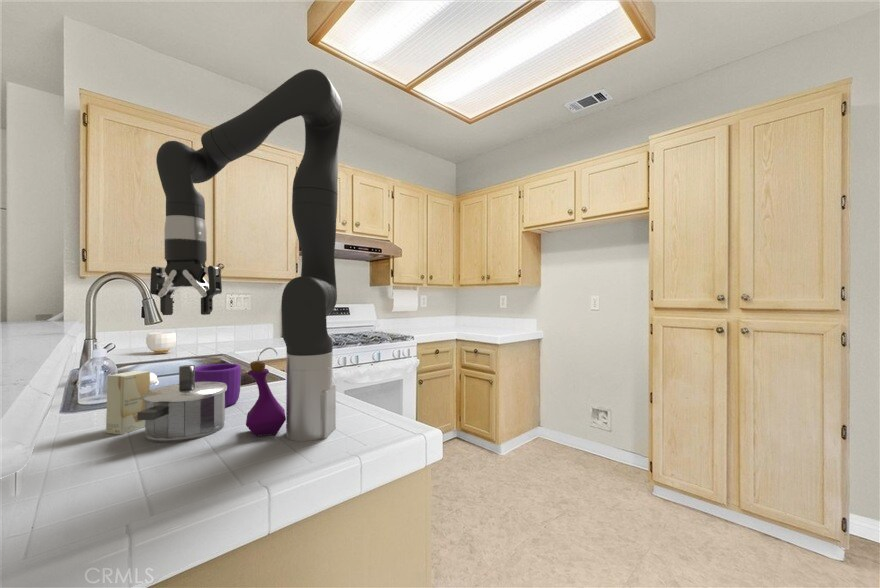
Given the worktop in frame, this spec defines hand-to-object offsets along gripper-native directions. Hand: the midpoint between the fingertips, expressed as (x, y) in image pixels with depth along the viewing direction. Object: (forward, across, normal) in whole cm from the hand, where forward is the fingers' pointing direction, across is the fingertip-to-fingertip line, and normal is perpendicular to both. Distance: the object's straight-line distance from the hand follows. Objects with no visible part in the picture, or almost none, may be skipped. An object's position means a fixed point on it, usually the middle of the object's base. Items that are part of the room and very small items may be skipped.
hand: (186, 314), depth 81 cm
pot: (+25, 0, 0) cm, 25 cm away
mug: (+25, +8, -21) cm, 34 cm away
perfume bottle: (+25, -17, 0) cm, 31 cm away
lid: (+18, 0, 0) cm, 18 cm away
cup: (+24, +92, -106) cm, 143 cm away
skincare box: (+25, +13, 0) cm, 28 cm away
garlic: (+25, +44, -40) cm, 64 cm away
